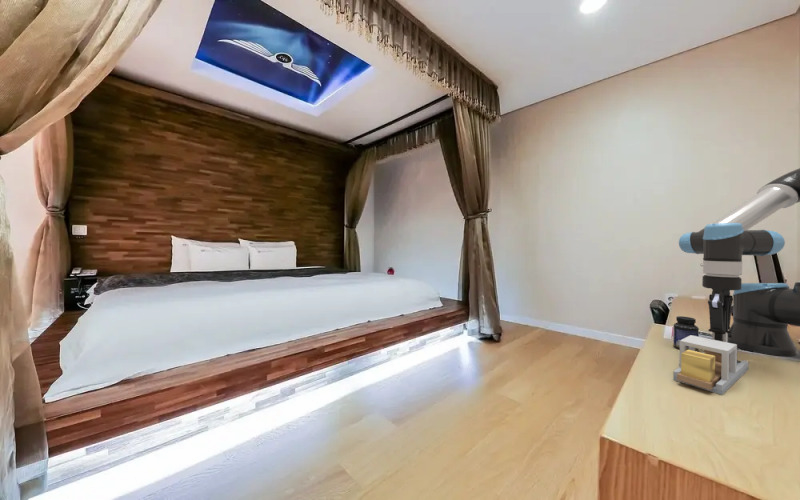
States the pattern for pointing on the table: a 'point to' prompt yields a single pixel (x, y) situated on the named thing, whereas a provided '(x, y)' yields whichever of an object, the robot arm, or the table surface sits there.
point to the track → (728, 371)
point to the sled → (701, 368)
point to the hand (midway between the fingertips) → (719, 354)
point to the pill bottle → (684, 330)
